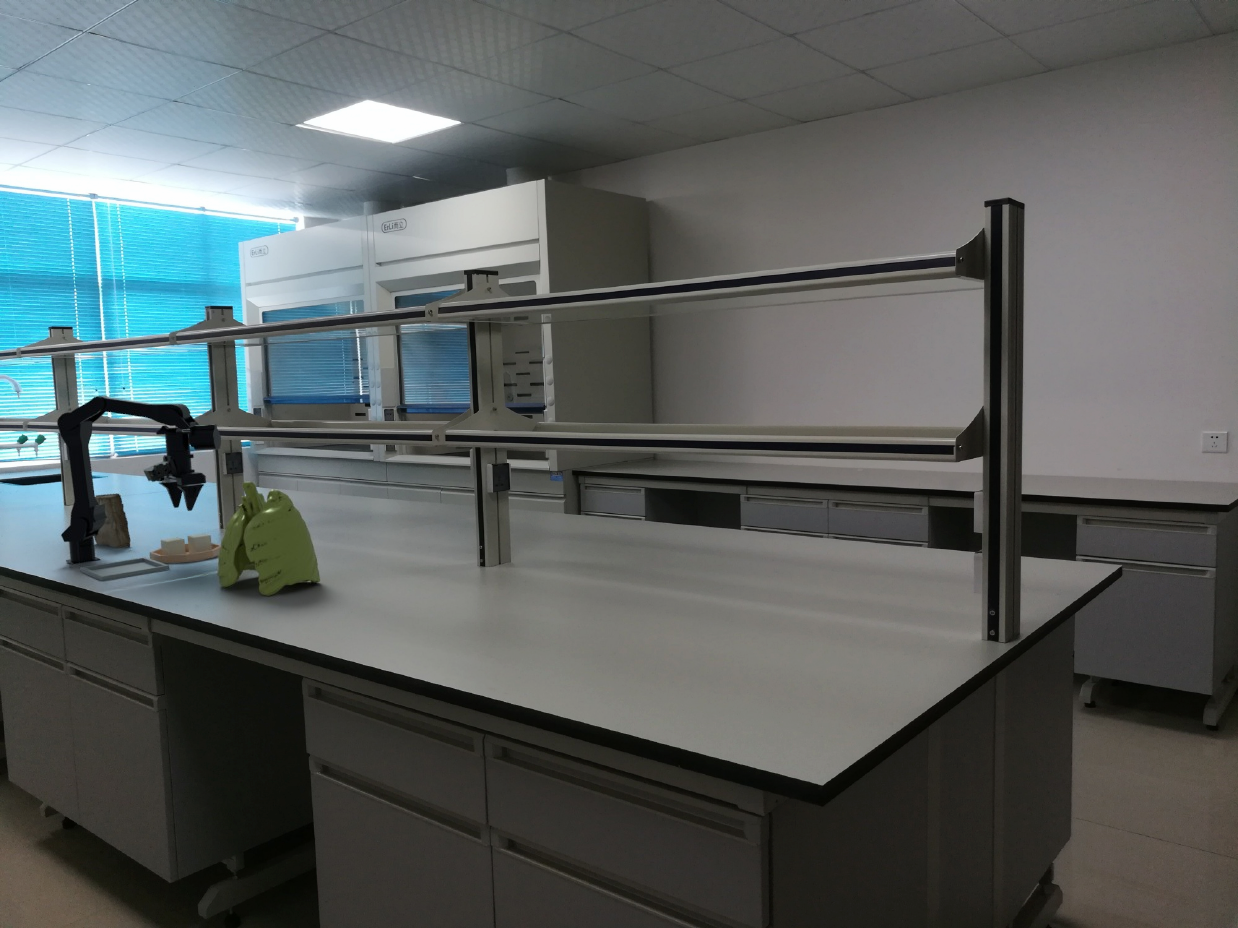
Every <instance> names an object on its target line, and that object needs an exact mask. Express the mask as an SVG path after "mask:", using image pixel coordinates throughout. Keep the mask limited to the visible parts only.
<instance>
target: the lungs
mask: <svg viewBox="0 0 1238 928" xmlns="http://www.w3.org/2000/svg"><path fill="white" fill-rule="evenodd" d="M242 489H243V493H244V494H245V496H244V495H242V496H241V497H240V500H241V502H242V503H241V504H239V505H237V506H236V508H239V509H238V510H237V511H236V512H235V513H234V514H233V515H232V516H231V518H230V519H229V521H228V522H227V524H226V526H225V531H224V534H223V537H222V539H221V543H220V545H221V547H220V552H219V554H218V556H217V559H218V561H217V563H218V564H217V566H218V570H217V572H216V575H217V577H218V579H219V584H220V587H222V588H229V587H230V586H232V585H233V586H234V584H236V583H237V582H238V580H239V579H240V577H241V575H242V574H243V572H244V571H256V572H257V573H258V583H259V585H258V586H259V587H258V591H259V593H260V594H261V595H263V596H266V597H269V596H272V595H275V594H276V593H278V592H279V591H280V590H282V589H283V588H284V586H292V585H295V584H297V583H308V582H311V583H320V582H321V577H320V571H319V567H318V566H319V564H318V557H317V554H316V552H315V551H316V550H315V547H314V544H313V540H312V536H311V533H310V531H309V528H308V526H307V523H306V521H305V520H304V519H303V516H302V514H301V512H300V510H298V509H297V508H296V506H294V505H295V504H294V503H293V501H292V499H291V498H290V497H289V495H288V494H287V493H284V491H283V492H282V491H281V490H279V489H270V490H269V491H268V494H267V496H266V500H265V496H264V495H263V493H261V492H260V493H259V492H258V489H257V486H256V484H255V483H254V482H253V481H244V482H242Z"/></svg>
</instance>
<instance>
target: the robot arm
mask: <svg viewBox="0 0 1238 928" xmlns="http://www.w3.org/2000/svg"><path fill="white" fill-rule="evenodd" d="M105 413H112V414H119V415H126V416H131V417H137V418H138V417H139V418H146V419H149V420H152V421H154V422H156V423H159V424H162V425H161V427H160V428H159V429H158V430H157V431H156V432H155V434H156V435H160V436H161V435H164V438H165V449H166V450H165V451H166V454H164V455H163V457H162V461H161V462H158V463H155V464H153V465H151V466H149V467H147V468H144V469H143V472H144V475H145V477H146V478H147V481H148V482H152V483H155V482H158V484H159V485H161V486H162V487H163V488H165V489H166V492H167V494H168V496H169V499H170V501H171V503H172V506H173V508H174V509H176V508H177V509H178V508H179V507H180V504H181V499H182V496H183V497H184V504H185V506H186V510H187V511H188V512H190V511H193V509H194V507H195V504H196V502H197V500H198V497H199V495H200V492H201V491H202V488H203V487H204V486H205V484H206V483H207V480H206V478H207V477H206V475H205V474H204V473H203V472H199V471H195V469H193V468H192V459H194V457H195V456H194V453H191V448H193V449H194V450H195V451H214V450H220V449H221V445H222V435H220V431H219V429H218V425H217V423H211V424H202V425H201V424H199V423H198V421H197V420H196V419H195V418H194V417H193V416H192V415H191V411H190V409H189V407H188V406H187V405H186V404H184V403H149V402H143V401H135V400H129V399H123V398H115V397H111V396H108V395H98V396H94V397H93V398H91V399H90V400H89V401H88V402H85V403H84V404H82V405H80V406H78V407H76V408H75V409H73V410H72V411H68V412H64V413H62V414H61V415H60V416H59V417H58V418H57V421H56V422H57V423H56V425H57V428H58V432H59V435H60V437H61V439H62V441H63V442H64V444H65V446H66V447H67V452H68V457H69V458H68V460H69V468H70V474H71V475H70V476H71V482H72V490H73V497H74V498H73V500H74V502H73V504H72V508H71V511H70V523H69V524H70V525H69V526H68V527H67V528H66V529H65V530H64V531H63V532H62V533H61V535H60V536H61V539H62V540H63V542H64V543H68V546H69V557H70V559H66V560H65V562H66V563H68V564H70V565H78V564H83V563H91V562H96V561H101V558H100V557H96V548H95V538H94V536H97V535H98V533H99V529H101V527H102V526H103V525H104V523H105V519H106V518H107V516H106V514H105V504H100V505H99V503H98V502H97V500H96V499H95V497H96V496H95V488H94V482H93V481H94V480H93V471H92V463H91V455H90V447H89V445H90V444H89V443H90V441H91V437H92V435H93V424H94V423H95V422H96V421H98V420H99V419H100V418H102V417H103V415H105ZM168 426H169V427H168Z"/></svg>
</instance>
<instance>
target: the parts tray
mask: <svg viewBox="0 0 1238 928" xmlns="http://www.w3.org/2000/svg"><path fill="white" fill-rule="evenodd" d="M170 568H171V567H170V565H169V564H168V563H161V562H158V561H155V560H152V559H150V557H146V556H144V557H143V556H142V557H139V558H138V557H137V558H131V559H125V560H119V561H112V562H111V561H110V562H106V563H100V564H95V565H94V564H93V565H87V566H80V567H79V572H81V573H82V574H85V575H88V576H89V577H92V578H95V579H96V580H99V581H101V582H105V581H110V580H116V579H122V578H128V577H132V576H141V575H147V574H152V573H158V572H163V571H168V570H171V569H170Z"/></svg>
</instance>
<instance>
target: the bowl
mask: <svg viewBox="0 0 1238 928" xmlns="http://www.w3.org/2000/svg"><path fill="white" fill-rule="evenodd" d="M211 545H212V550H210V551H204V552H198V553H191V554H189V550H188V543H185V552H186V554H182V555H162V550H161V547H160V548H157V549H155V550H152V551H150V552H149V559H152V560H155V561H158V562H161V563H164V564H181V563H182V564H183V563H191V562H200V561H206V560H209V559H214V558H217V557H218V554H219V552H220V547H221V544H219V543H216V542H211Z"/></svg>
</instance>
